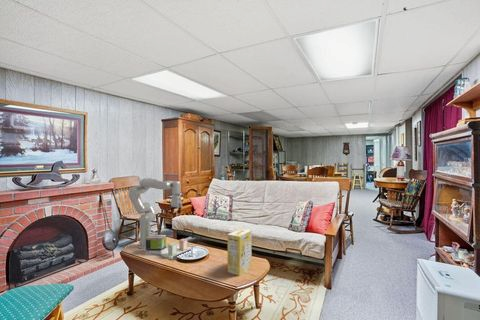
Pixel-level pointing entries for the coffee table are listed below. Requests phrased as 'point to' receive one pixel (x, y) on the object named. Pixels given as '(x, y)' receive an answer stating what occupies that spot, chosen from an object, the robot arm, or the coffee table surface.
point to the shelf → (165, 254)
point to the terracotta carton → (183, 244)
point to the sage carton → (172, 249)
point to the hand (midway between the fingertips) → (175, 212)
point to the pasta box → (239, 251)
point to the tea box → (155, 244)
